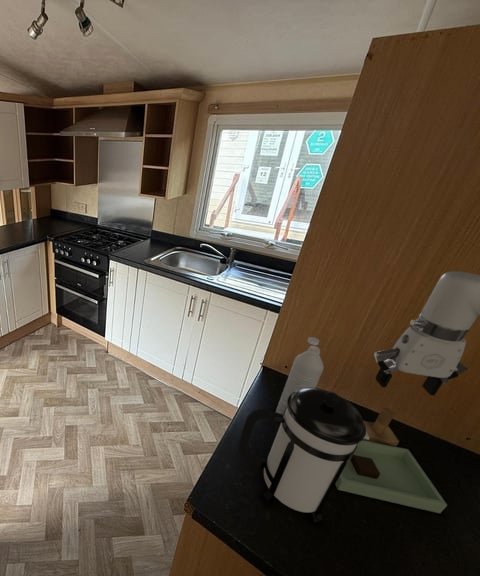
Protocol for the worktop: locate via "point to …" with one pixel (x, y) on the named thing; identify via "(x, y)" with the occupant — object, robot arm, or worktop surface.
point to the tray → (392, 478)
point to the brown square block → (365, 466)
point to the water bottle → (302, 373)
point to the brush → (381, 429)
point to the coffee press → (307, 448)
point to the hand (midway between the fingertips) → (403, 387)
